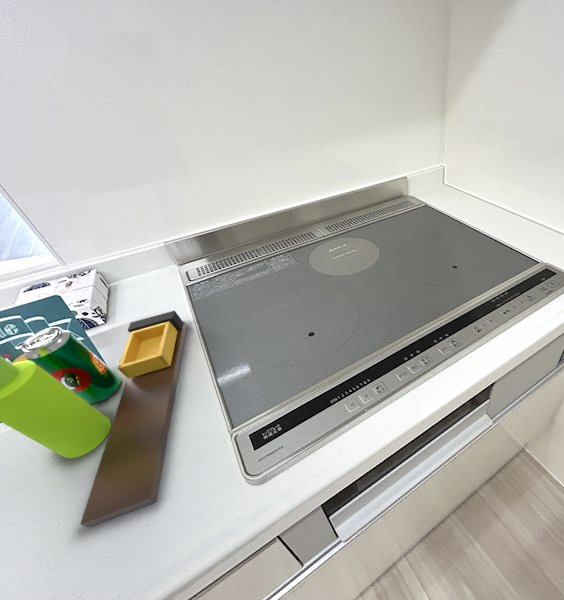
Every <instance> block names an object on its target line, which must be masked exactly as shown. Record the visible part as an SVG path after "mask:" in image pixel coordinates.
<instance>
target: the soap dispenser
mask: <svg viewBox="0 0 564 600" xmlns="http://www.w3.org/2000/svg"><path fill="white" fill-rule="evenodd" d="M0 423H2V424H4V425H6V426H8V427H9V428H11V429H13V430H14V431H16V432H18V433H20V434H22V435H23V436H26V437H27V438H29V439H31V440H32V441H34V442H36V443H38V444H39V445H41V446H43V447H45V448H47V449H48V450H51V451H52V452H54V453H56V454H57V455H60V456H61V457H63V458H65V459H76V458H80V457H82V456H85V455H86V454H88V453H91V452H92V451H93V450H95V449H96V448H97V447H98V446H100V445H101V444H102V443H103V441H104V440H105V439H106V438H107V436H109V433H110V430H111V427H112V421H111V420H110V418H109V417H107V416H106V415H105V414H103V412H101V411H99V410H98V409H96V407H94V406H93V405H92V404H91V403H87V402H86V401H85V400H83V399H82V398H81V397H79V396H78V395H77V394H75V393H74V392H73V391H71V390H70V389H69V388H67V387H66V386H65V385H63V384H62V383H61V382H59V381H58V380H57V379H55V378H54V377H53V376H51V375H50V374H49V373H47V372H46V371H45V370H43V369H42V368H41V367H39V366H38V365H37V364H35V363H34V362H32V361H29V360H27V359H26V360H25V359H24V360H19V361H15V362H10V361H8V359H6V358H4V357H3V356H1V355H0Z"/></svg>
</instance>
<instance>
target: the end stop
mask: <svg viewBox="0 0 564 600" xmlns="http://www.w3.org/2000/svg"><path fill="white" fill-rule="evenodd" d="M168 321H170V322H171V324H172V325H173V326H174V327H175V329H176V330H177V331H179V330H182V327H183V321H184V320H182V318H181V317H180V315H179V314H178V313H177V312H176V310H171V311H168V312H164V313H160V314H157V315H153V316H150V317H146V318H142V319H139V320H135V321H132V322H130V323H129V326H128V328H127V331H128V333H130V332H132V331H136V330H140V329H143V328H147V327H150V326H154V325H158V324H161V323H165V322H168Z"/></svg>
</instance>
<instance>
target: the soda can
mask: <svg viewBox="0 0 564 600" xmlns="http://www.w3.org/2000/svg"><path fill="white" fill-rule="evenodd" d="M20 350H21V351H22V352H23V357H24V358H25V359H26V360H27V361H32V362H34V363H35V364H37V365H38V366H39V367H41V368H42V369H43V370H45V371H46V372H47V373H49V374H50V375H51V376H53V377H54V378H55V379H57V380H58V381H59V382H61V383H62V384H63V385H65V386H66V387H67V388H69V389H70V390H71V391H73V392H74V393H75V394H77V395H78V396H79V397H81V398H82V399H83V400H85V401H86V402H87V403H89V404H96V403H100V402H103V401H105V400H107V399H108V398H110V397H111V396H113V395H114V394H115V393H116V392H117V391H118V389H119V387H120V385H121V377H120V375H118V374H117V373H116V372H115V371H114V370H113V369H112V368H111V367H109V366H108V365H107V364H106V363H105V362H104V361H103V360H102V359H101V358H100V357H98V356H97V355H96V354H95V353H94V352H93V351H92V350H91V349H90V348H88V347H87V346H86V345H85V344H84V343H83V342H82V341H81V340H80V339H79V338H78V337H76V336H75V335H74V334H73V333H72V332H71V331H69V330H67V329H66V330H65V329H62V328H61V327H59V326H51V327H48V328H45V329H42V330H40V331H37V332H35V333H34V334H32V335H31V336H29V337H28V338H27V339H26V340H25V341H23V343H22V344H21V347H20Z"/></svg>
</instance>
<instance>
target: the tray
mask: <svg viewBox="0 0 564 600" xmlns="http://www.w3.org/2000/svg"><path fill="white" fill-rule="evenodd" d="M177 332H178V331H177V330H176V329H175V327H174V326H173V325H172V324H171V322H170V321H168V322H165V323H161V324H158V325H154V326H150V327H147V328H143V329H140V330H136V331H132V332H129V335H128V337H127V341H126V343H125V346H124V349H123V352H122V355H121V358H120V360H119V363H118V365H117V370H118V371H119V372H120V373H121V374H122V375H123V376H124V377H126V379H127V378H128V379H129V378H132V377H136V376H139V375H142V374H146V373H149V372H152V371H155V370H159V369H162V368H165V367H169V366H171V361H172V357H173V352H174V347H175V342H176V337H177Z"/></svg>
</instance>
